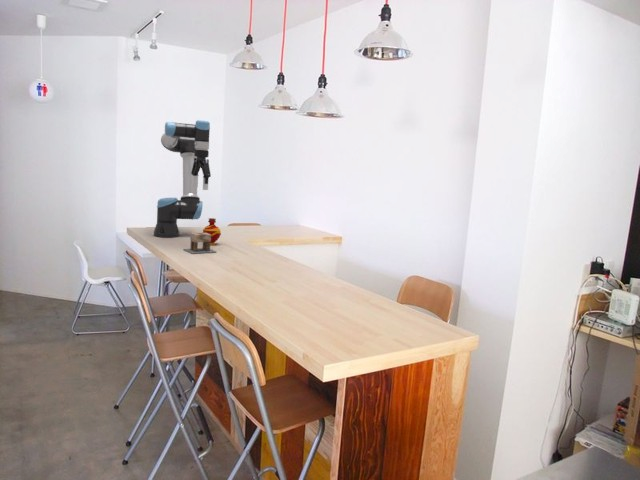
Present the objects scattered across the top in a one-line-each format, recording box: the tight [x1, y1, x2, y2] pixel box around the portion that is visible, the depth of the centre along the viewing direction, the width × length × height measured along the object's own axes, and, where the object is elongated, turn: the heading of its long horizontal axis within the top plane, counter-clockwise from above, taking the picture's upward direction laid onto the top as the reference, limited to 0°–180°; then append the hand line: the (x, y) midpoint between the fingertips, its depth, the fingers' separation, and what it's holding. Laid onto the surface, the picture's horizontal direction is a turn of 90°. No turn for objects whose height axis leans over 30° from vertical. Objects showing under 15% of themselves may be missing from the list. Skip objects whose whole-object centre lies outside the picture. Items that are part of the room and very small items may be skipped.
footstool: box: [189, 232, 211, 252], centre depth 260 cm, size 9×6×9 cm, turn 127°
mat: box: [183, 247, 217, 255], centre depth 261 cm, size 11×14×1 cm
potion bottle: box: [202, 217, 222, 246], centre depth 283 cm, size 10×10×15 cm
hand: (200, 188), depth 268 cm, fingers open, 13 cm apart
